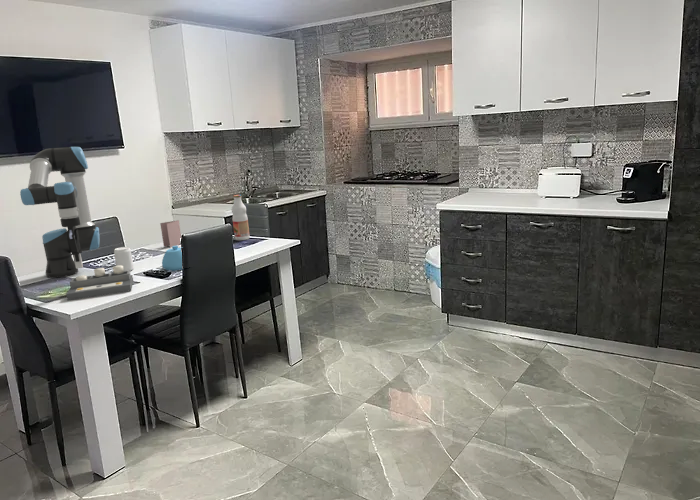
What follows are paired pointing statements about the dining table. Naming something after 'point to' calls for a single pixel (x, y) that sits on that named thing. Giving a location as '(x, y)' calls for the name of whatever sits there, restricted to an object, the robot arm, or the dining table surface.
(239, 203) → the fruit juice
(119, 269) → the button
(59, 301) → the dining table surface
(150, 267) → the dining table surface
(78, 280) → the button
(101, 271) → the middle button
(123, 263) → the beverage can
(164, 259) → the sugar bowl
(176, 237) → the pink rectangular block
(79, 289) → the button panel
